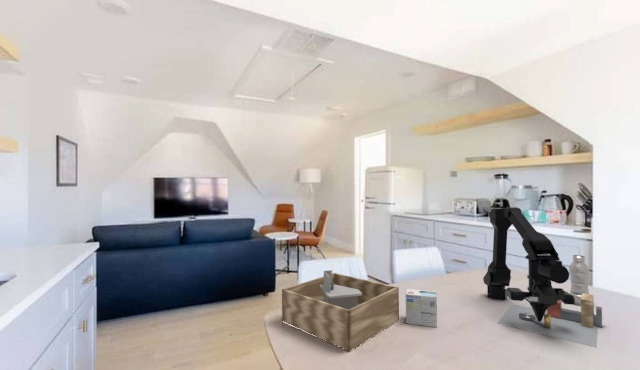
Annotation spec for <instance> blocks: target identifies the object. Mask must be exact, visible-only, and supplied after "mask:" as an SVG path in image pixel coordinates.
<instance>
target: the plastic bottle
mask: <svg viewBox="0 0 640 370" xmlns="http://www.w3.org/2000/svg"><path fill="white" fill-rule="evenodd" d="M585 257H586V256H585V255H579V254H573V255H572V260H573V261H572V262H571V263H570V264H569V267H568V272H569V278H570V293H569V294H571V295H573V296H574V298H575V304H574V305H576V306H580V307H581V297H582V293H584V294H590V291H589V290H590V289H589V277H590V268H589V266H588V265H587V264H586V263H585V262H586V259H585Z"/></svg>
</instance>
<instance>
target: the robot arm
mask: <svg viewBox="0 0 640 370" xmlns="http://www.w3.org/2000/svg"><path fill="white" fill-rule="evenodd" d="M488 217H489V222H490V224H491V225H492V227H493V246H492V261H491V262H490V263H489V265H488V266H487V271H486V274H484V276H483V278H482V280H483V283H484V285H485V286H487V298H491V299H492V300H498V301H501V300H502V301H507V299H510V300H511V301H516V302H517V301H518V302H523V301H524V300H525V301H527V303H529V304H530V307H531V308H532V309H533V311H534V313H535V316H536V318H537V320H538V321H539V322H541V320H542V318H543V316H544V314H545V312H546V311H547V308H548V307H550V306H552V305H556V304H557V302H558V300H560V301H562V303H563V304H564V305H572V306H573V305H574V306H575V305H576V304H575V298H574V296H573V295H571V294H570V293H569V292H568V291H566V290H564V288H562V287H561V288H560V287H559V288H558V287H553V286H552V283H553V282H554V283H555V284H559V285H561V284H564V283H566V282H568V280H569V278H570V273H569V269H568V268H567V267H566V266H564V265H563V261H562V260H561V259H560V257H559V253H558V251H556V248H555V246H554V245H553V242H552V240H550V239H549V238H548V237H547V236H546V235H545V234H543V233H541V232H540V231H537V230H535V228H534V227H533V226H532V224H531V222H530V221H529V220H528V219H527V218H526V217H525V216H524V214H523V212H522V210H521V208H520V207H517V206H515V207H499V208H498V207H493V208H491V209H490V211H489V213H488ZM511 226H512V227H514V229H515V230H516V232H517V233H518V234H519V235H520V237H521V238H522V242H521V245H522V247H523V249H524V251H525V253H526V254H527V255H525V257H524V258H525V259H526V260H528V274H526V275H527V276H526V278H527V280H528V286H527V291H523V290H522V289H521V288H519V287H510V283H511V279H512V277H511V275H512V274H511V273H512V271H511V269H510V268H509V267H508V265H507V249H508V248H507V246H508V245H507V244H508V230H509V229H510V227H511ZM506 287H507V288H506Z"/></svg>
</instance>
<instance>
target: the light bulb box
mask: <svg viewBox="0 0 640 370" xmlns="http://www.w3.org/2000/svg"><path fill="white" fill-rule="evenodd" d="M437 297H438V296H437V291H436V290H427V289H426V290H423V289H413V288H411V289H410V288H406V292H405V324H406V323H408V324H409V325H414V326H415V325H416V326H425V327H432V328H433V327H434V328H437V327H438V302H437V301H438V300H437V299H438V298H437Z"/></svg>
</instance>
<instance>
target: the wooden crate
mask: <svg viewBox="0 0 640 370" xmlns="http://www.w3.org/2000/svg"><path fill="white" fill-rule="evenodd" d="M332 283H333V284H335V285H339V286H344V287H349V288H353V289H358V290H359V291H360V292H362V296H358V306H356V307H353V308H351V309H349V310H348V309H345V308H342V307H338V306H335V305H332V304H329V303H326V302H323V301H320V299H324V292H323V291H322V289H321V288H320V285H323V284H324V275H323V276H321V277H317V278H314V279H311V280H308V281H305V282H302V283H299V284H296V285H292V286H289V287H286V288H283V289H281V309H282V310H281V322H282V321H284V322H286V323H288V324H291V325H293V326H295V327H297V328H300V329H302V330H304V331H306V332H308V333H310V334H313V335H315V336H317V337H320V338H322V339H324V340H326V341H328V342H330V343H332V344H335V345H337V346H340V347H342V348H344V349H346V350H348V351H347V352H349V351H350V350H352V349H353V350H355V349H356V348H355V347H357V346H358V345H360V344H361V345H363V344H364V343H366V342H367V341H366V340H368V339H369V338H371V337H372V338H373V336H374V335H375V336H377V335H378V334H377V333H379V332H380V333H381V331H382V330H383V331H385V330H386V329H388V328H390V327H391V326H393V325H394V324H396V323H397V322H399V321H400V308H399V307H400V302H399V301H400V300H399V299H400V296H399V295H400V294H399V293H400V292H399V291H400V290H399V286H398V287H397V286H394V285H389V284H385V283H380V282H376V281H372V280H368V279H363V278H357V277H354V276H348V275H347V274H346V275H345V274H341V273H336V272H334V273H333V272H332ZM398 320H399V321H398ZM396 321H397V322H396ZM395 322H396V323H395ZM393 323H394V324H393ZM392 324H393V325H392ZM390 325H391V326H390ZM389 326H390V327H389ZM387 327H388V328H387ZM385 328H386V329H385ZM384 329H385V330H384ZM383 331H382V332H383ZM380 333H379V334H380ZM376 334H377V335H376ZM375 336H374V337H375ZM372 338H371V339H372ZM369 340H370V339H369ZM369 340H368V341H369ZM326 341H325V342H326ZM365 341H366V342H365ZM328 342H327V343H328ZM363 342H364V343H363ZM330 343H329V344H330ZM362 343H363V344H362ZM332 344H331V345H332ZM335 345H334V346H335ZM361 345H360V346H361ZM337 346H336V347H337ZM358 347H359V346H358ZM358 347H357V348H358ZM342 348H341V349H342ZM354 348H355V349H354ZM344 349H343V350H344ZM346 350H345V351H346ZM353 350H352V351H353ZM350 352H351V351H350Z"/></svg>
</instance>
